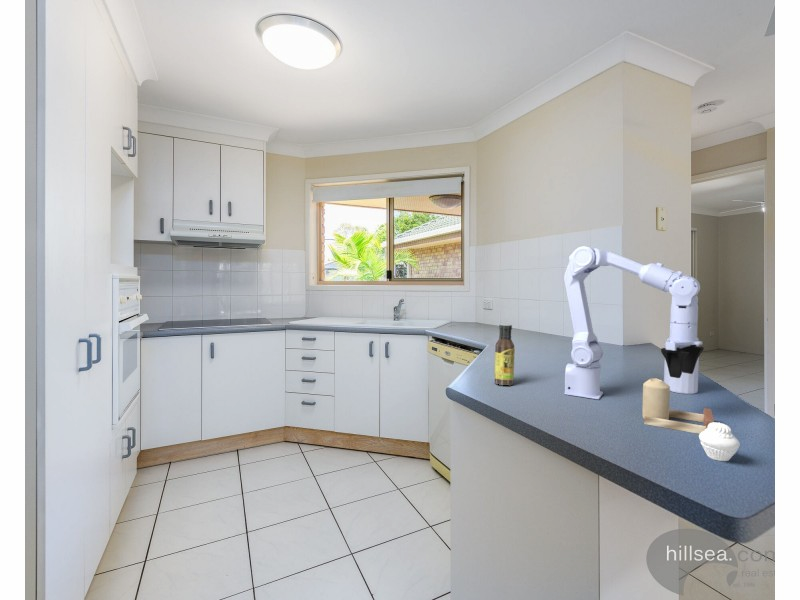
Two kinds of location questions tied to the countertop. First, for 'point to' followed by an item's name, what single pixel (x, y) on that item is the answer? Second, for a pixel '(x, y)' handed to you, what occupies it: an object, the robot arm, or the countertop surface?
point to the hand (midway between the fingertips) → (681, 375)
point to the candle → (656, 399)
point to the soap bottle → (682, 380)
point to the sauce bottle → (504, 357)
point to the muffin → (719, 441)
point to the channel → (682, 426)
